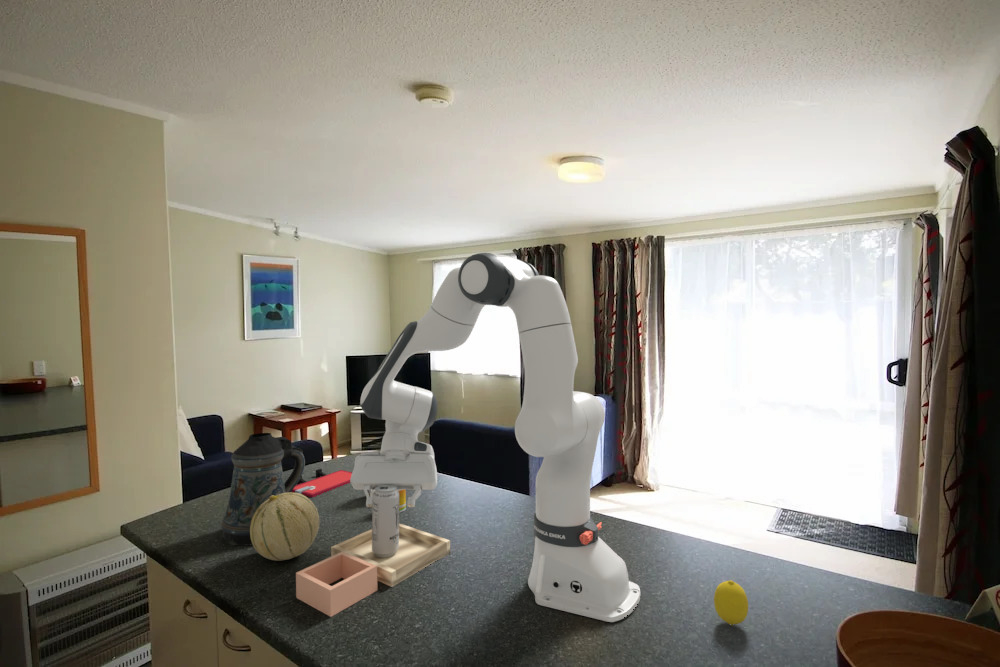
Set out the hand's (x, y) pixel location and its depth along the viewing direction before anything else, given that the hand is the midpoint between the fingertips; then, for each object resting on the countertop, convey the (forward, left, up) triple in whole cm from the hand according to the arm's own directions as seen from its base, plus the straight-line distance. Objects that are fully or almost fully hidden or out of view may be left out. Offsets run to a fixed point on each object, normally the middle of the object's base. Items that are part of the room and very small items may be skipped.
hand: (390, 506), depth 115 cm
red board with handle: (+57, -19, -13) cm, 62 cm away
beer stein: (+39, +9, -12) cm, 42 cm away
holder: (-3, +17, -12) cm, 21 cm away
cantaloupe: (+20, +14, -12) cm, 27 cm away
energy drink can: (+1, +1, -11) cm, 11 cm away
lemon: (-69, -17, -12) cm, 72 cm away
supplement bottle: (+20, -20, -12) cm, 31 cm away
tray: (0, 0, -12) cm, 12 cm away
